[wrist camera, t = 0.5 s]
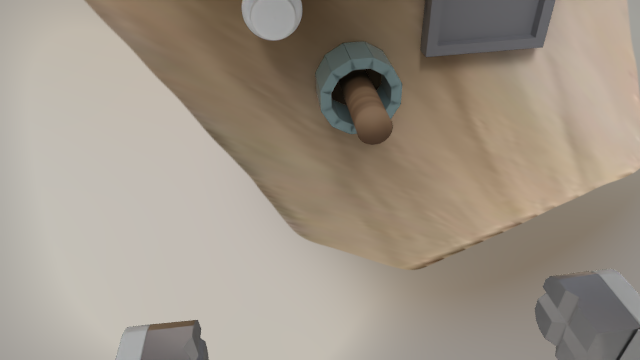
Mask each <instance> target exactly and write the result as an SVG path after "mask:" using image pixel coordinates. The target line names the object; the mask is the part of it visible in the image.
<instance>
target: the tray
mask: <svg viewBox="0 0 640 360" xmlns="http://www.w3.org/2000/svg"><path fill="white" fill-rule="evenodd" d="M554 4H555V0H425V8H424V18H423V28H422V38H421V48H420V50H421V52H422V53H423V54H424V55H425V56H426V57H432V56H444V55H457V54H469V53H481V52H493V51H505V50H517V49H529V48H541V47H543V45H544V41H545V37H546V33H547V30H548V26H549V22H550V19H551V15H552V11H553V7H554Z"/></svg>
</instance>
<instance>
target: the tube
mask: <svg viewBox="0 0 640 360" xmlns="http://www.w3.org/2000/svg"><path fill="white" fill-rule="evenodd" d="M359 69H372V70H374V71H376V72H379V73H381V84H380V86H379V87H378V89H377V91H376V92H377V94H378V96H379V98H380V99H381V101H382V103H383V105H384V107H385V109H386V111H387V113H388V115H389V117H390V119H391V118H392V116H393V115H394V113H395V112H396V110H397V109H398V108H399V106H400V105H401V95H402V83H401V81H400V79H399V77H398V76H397V74H396V72H395V70H394V68H393V67H392V65H391V64H390V62H389V60H388V59H387V57H386V56H385V54H384V53H383V51H382V50H381V49H379V48H377V47H375V46H373V45H371V44H369V43H367V42H364V41H361V42H349V43H342V44H341V45H339V46H338V47H336V48H335V49H333V50H332V51H330V52H329V53H327V54H326V55H325V56H324V58H323V60H322V61H321V63H320V65H319V67H318V69H317V71H316V73H315V77H316V93H317V97H318V101H319V105H320V108H321V112H322V113H323V115H324V116H325V117H326V119H327V120H328V121H329V123H330V124H331V126H332V127H334V128H337V129H339V130H342V131H344V132H346V133H349V134H357V132H356V129H355V126H354V123H353V121H352V118H351V115H350V112H349V109H348V107H347V105H344V104H342V103H340V102H337V101H335V100H333V98H332V97H331V93H332V91H333V89H334V87H335V86H336V84H337V82H338V80H339V79H340V78H342V77H343V76H345V75H347V74H348V73H350V72H351V71H353V70H359Z"/></svg>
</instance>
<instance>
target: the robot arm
mask: <svg viewBox="0 0 640 360" xmlns="http://www.w3.org/2000/svg"><path fill="white" fill-rule="evenodd" d="M543 288H544V289H545V291H546V293H545V294H544V295H543V296H541V297H540V298H539V299H538V301H537V304H536V307H535V314H536V321H537V324H538V326H539V329H540V330H541V333H542V334H543V336H544V338H545V339H547V340H548V341H550V342H551V343H553V344H554V345H556V354H555V356H556V358H557V359H558V360H640V295H639V294H638V293H637V292H636V291H635V290H634V288H633V287H632V286H631V285H630V284H629V283H628V281H627V280H626V279H625V278H624V277H623V276H622V275H621V274H620V273H619V272H618V271H616V270H614V269H604V270H597V271H585V272H577V273H570V274H563V275H556V276H550V277H549V278H547V279H546V280H545V283H544V285H543ZM200 335H201V327H200V324H199V322H198V320H192V321H182V322H172V323H162V324H150V325H142V326H133V327H127V328H126V330H125V331H124V333H123V335H122V338H121V342H120V345H119V348H118V352H117V356H116V359H115V360H208V352H207V346H206V343H205V341H204V340H202V339H201V338H200Z"/></svg>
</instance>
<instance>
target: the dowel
mask: <svg viewBox="0 0 640 360" xmlns="http://www.w3.org/2000/svg"><path fill="white" fill-rule="evenodd" d="M339 85H340V87H341V90H342V93H343V96H344V98H345V101H346V104H347V107H348V109H349V112H350V115H351V118H352V121H353V123H354V126H355V129H356V132H357V134H358V137H359V139H360V140H361V141H362V142H364V143H366V144H371V145H374V144H379V143H381V142H383V141H385V140H386V139H387V138H388V137H389V136H390V134H391V132H392V128H393V125H392V121H391V119H390V117H389V115H388V113H387V111H386V109H385V107H384V105H383V103H382V101H381V99H380V98H379V96H378V94H377V92H376V90H375V88H374V86H373V84H372V82H371V80H370V78H369V76H368V74H367V72H366V70H365V69H359V70H353V71H351V72H350V73H348V74H347V75H345V76H343V77H342V78H340V79H339Z"/></svg>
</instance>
